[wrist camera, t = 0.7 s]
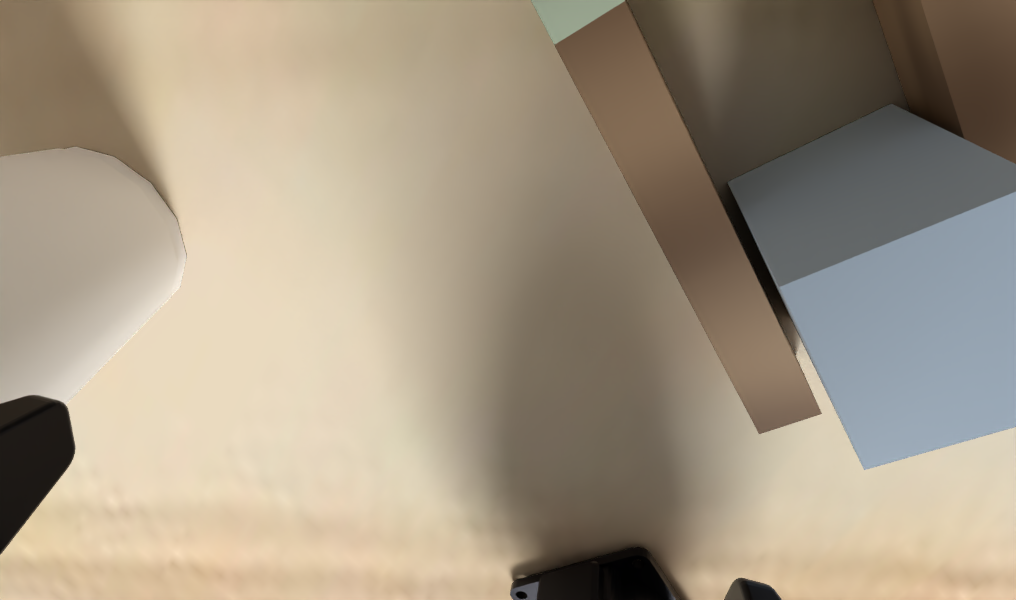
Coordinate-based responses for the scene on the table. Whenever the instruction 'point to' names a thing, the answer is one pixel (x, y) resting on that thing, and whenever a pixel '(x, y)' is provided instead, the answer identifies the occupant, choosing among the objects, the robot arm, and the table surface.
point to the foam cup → (77, 266)
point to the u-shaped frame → (693, 196)
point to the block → (896, 277)
